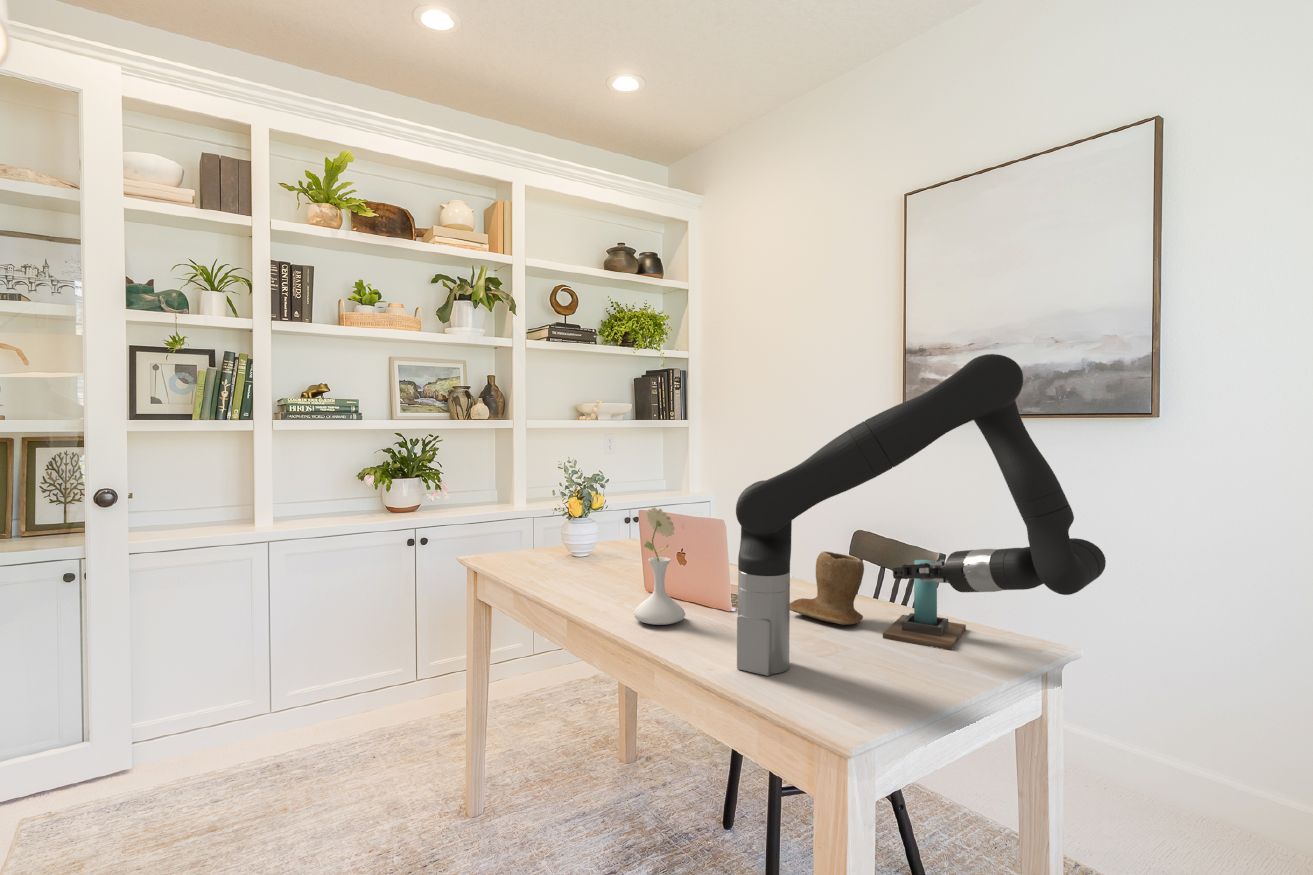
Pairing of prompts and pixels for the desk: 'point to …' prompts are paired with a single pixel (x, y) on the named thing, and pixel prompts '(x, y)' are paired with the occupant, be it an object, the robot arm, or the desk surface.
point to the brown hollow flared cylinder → (834, 590)
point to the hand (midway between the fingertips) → (909, 574)
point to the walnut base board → (925, 632)
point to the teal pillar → (925, 600)
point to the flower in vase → (659, 578)
